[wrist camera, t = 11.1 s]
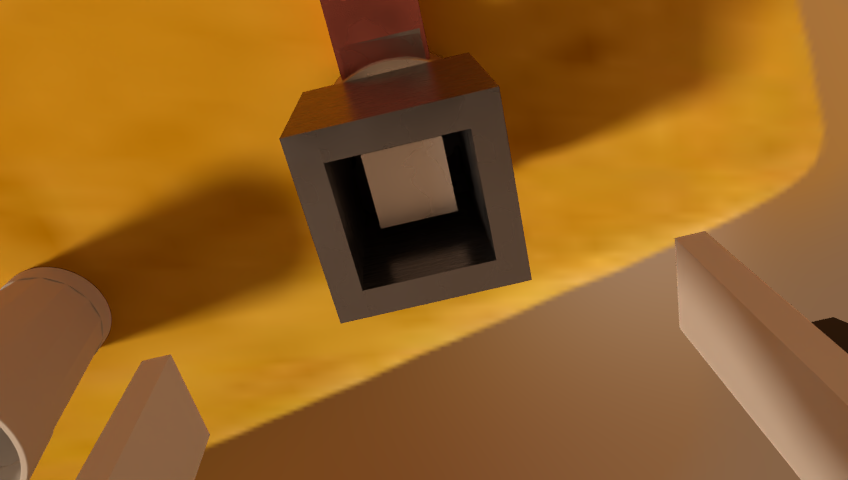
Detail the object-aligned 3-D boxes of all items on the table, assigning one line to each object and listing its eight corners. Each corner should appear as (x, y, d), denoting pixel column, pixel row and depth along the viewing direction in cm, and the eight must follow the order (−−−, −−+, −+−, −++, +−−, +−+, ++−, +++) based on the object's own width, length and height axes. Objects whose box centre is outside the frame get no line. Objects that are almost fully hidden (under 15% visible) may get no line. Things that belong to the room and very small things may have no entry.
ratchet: (206, -239, 27) (140, -312, 20) (407, -291, 27) (420, -387, 19) (345, 222, 37) (338, 294, 29) (495, 187, 37) (527, 250, 29)
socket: (303, 92, 30) (279, 138, 22) (468, 52, 29) (498, 86, 22) (348, 241, 33) (340, 323, 26) (497, 206, 33) (531, 279, 26)
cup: (110, 252, 37) (-1, 380, 26) (137, 364, 40) (47, 519, 29) (-32, 256, 36) (-208, 388, 25) (6, 370, 39) (-134, 529, 29)
